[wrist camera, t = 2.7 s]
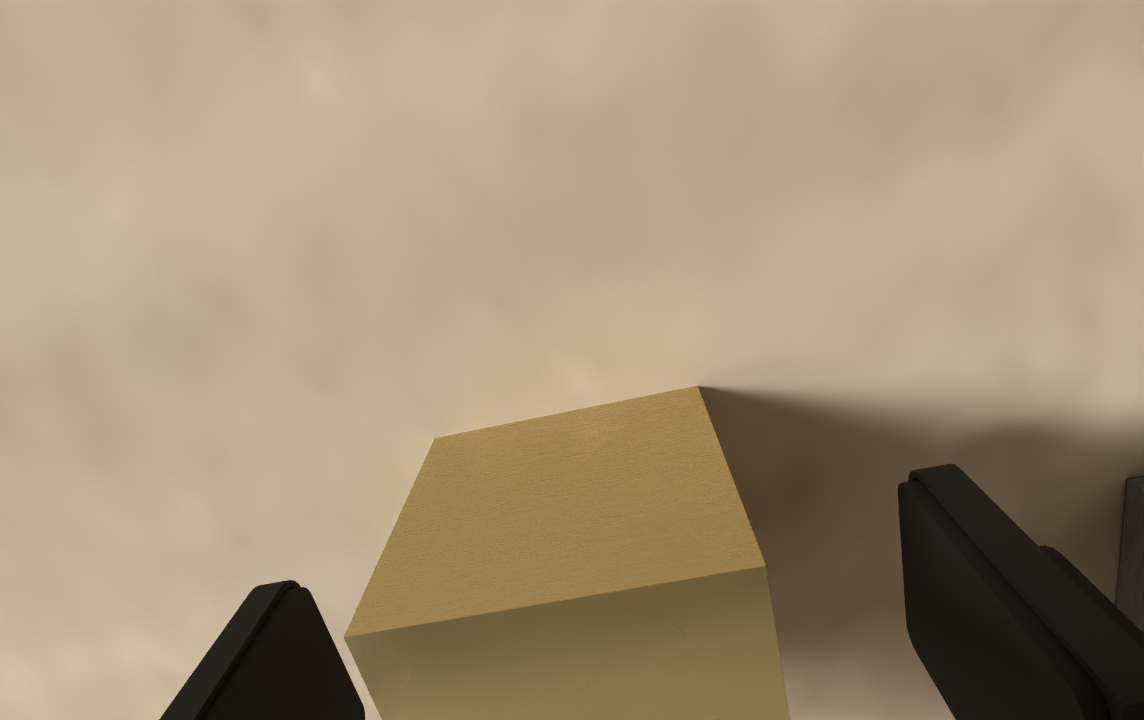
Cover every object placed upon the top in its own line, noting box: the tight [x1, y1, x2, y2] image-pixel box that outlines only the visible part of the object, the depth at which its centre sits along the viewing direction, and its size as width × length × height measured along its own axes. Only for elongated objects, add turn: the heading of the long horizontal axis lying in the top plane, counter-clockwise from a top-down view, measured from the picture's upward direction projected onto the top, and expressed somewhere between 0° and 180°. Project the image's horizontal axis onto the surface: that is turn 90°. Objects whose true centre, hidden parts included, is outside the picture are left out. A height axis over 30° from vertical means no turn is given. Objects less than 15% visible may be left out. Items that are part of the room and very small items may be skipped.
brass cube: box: [344, 386, 790, 720], centre depth 10 cm, size 4×4×4 cm
